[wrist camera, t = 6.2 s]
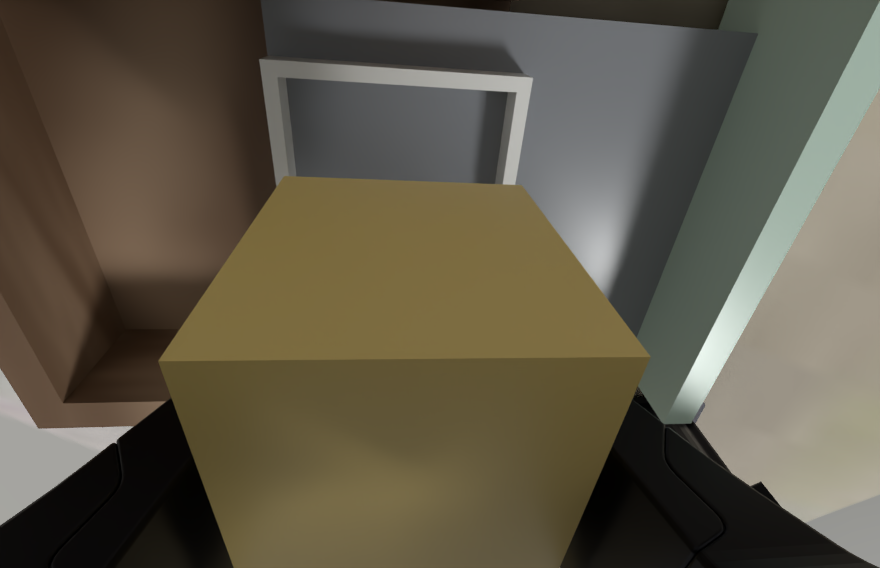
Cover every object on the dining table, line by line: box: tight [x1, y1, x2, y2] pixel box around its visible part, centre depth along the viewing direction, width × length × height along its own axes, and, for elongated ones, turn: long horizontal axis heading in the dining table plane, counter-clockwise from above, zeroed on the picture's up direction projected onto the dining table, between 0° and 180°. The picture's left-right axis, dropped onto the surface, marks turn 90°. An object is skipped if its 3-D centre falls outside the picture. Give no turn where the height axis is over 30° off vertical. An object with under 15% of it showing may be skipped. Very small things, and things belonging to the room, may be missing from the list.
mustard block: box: [158, 176, 650, 568], centre depth 8 cm, size 4×6×5 cm
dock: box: [0, 0, 517, 428], centre depth 14 cm, size 16×15×5 cm
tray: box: [259, 0, 880, 424], centre depth 15 cm, size 15×15×5 cm
